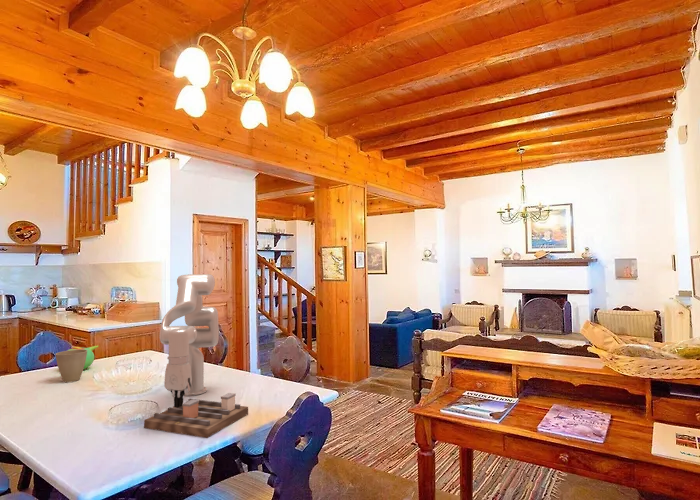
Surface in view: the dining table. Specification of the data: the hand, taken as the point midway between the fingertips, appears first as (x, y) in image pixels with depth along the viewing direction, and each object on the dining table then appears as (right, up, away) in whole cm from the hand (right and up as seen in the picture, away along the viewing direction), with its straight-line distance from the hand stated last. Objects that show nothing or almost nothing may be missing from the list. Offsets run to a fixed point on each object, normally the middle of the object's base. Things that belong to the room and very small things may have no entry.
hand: (178, 406), depth 165 cm
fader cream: (+18, -4, +5) cm, 19 cm away
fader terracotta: (+6, -3, -3) cm, 8 cm away
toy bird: (-101, -13, +93) cm, 138 cm away
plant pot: (-88, -11, +67) cm, 111 cm away
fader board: (+7, -7, +3) cm, 10 cm away
